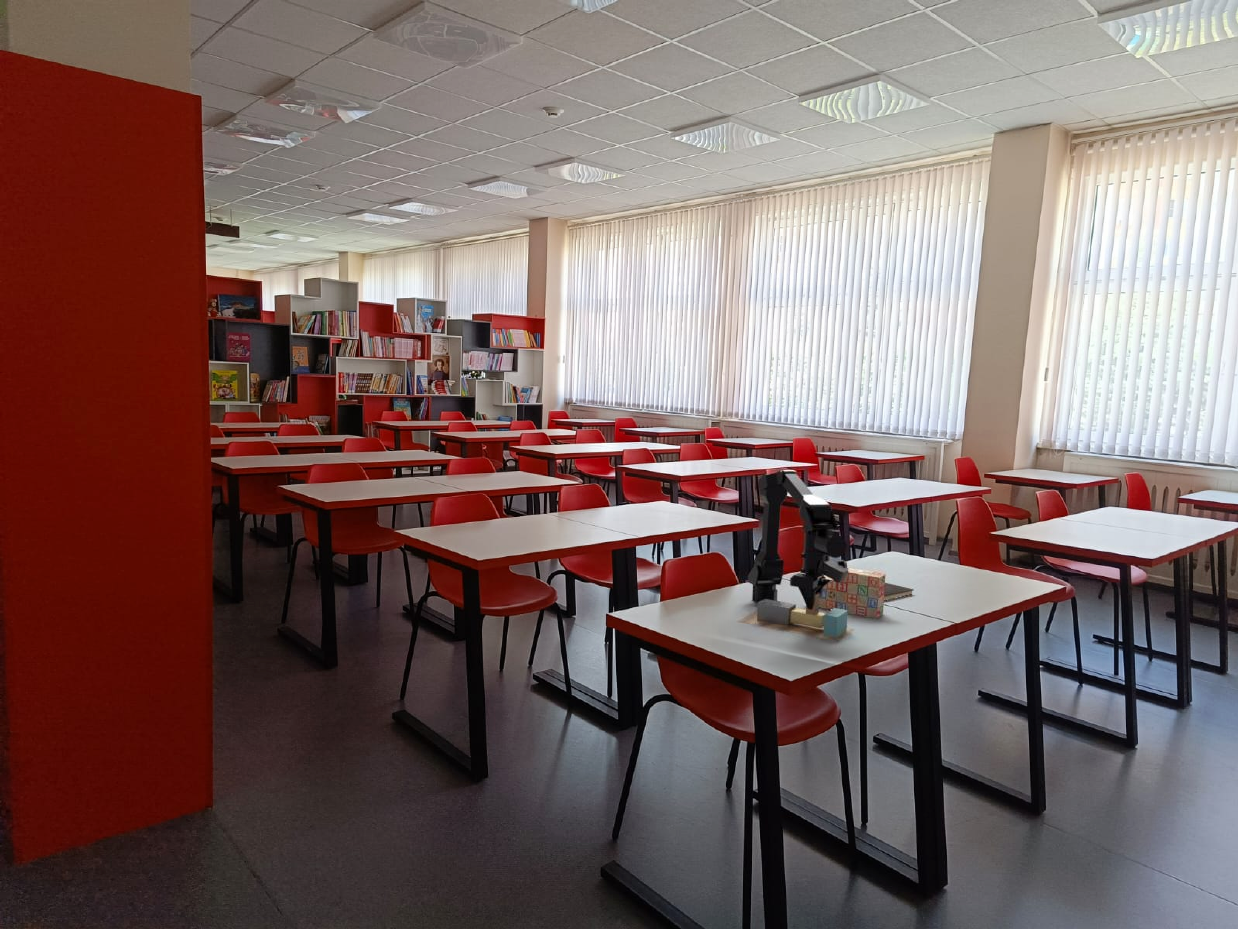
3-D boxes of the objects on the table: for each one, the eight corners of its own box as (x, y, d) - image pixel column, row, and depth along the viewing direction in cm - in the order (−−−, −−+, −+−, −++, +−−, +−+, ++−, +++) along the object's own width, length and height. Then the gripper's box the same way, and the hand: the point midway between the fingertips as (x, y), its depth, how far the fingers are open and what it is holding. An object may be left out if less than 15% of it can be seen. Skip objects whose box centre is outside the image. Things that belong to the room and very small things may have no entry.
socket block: (823, 635, 195) (824, 614, 195) (833, 628, 202) (834, 608, 201) (836, 637, 193) (837, 617, 193) (846, 630, 200) (847, 610, 199)
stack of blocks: (805, 606, 227) (807, 565, 226) (813, 602, 232) (815, 562, 231) (877, 619, 215) (879, 576, 214) (883, 614, 220) (886, 573, 219)
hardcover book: (853, 581, 262) (854, 575, 262) (913, 596, 244) (913, 589, 243) (823, 587, 253) (824, 580, 253) (883, 603, 234) (883, 595, 234)
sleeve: (757, 620, 207) (757, 602, 207) (764, 616, 211) (765, 598, 211) (788, 626, 202) (788, 608, 202) (795, 622, 206) (795, 604, 206)
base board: (737, 624, 206) (737, 621, 206) (757, 614, 217) (757, 610, 217) (838, 645, 191) (838, 641, 190) (854, 632, 201) (854, 629, 201)
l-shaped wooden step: (761, 617, 207) (762, 586, 207) (766, 614, 210) (767, 584, 209) (821, 628, 198) (822, 596, 197) (825, 625, 201) (826, 594, 200)
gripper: (833, 560, 187) (830, 621, 188) (856, 548, 202) (853, 605, 204) (790, 553, 193) (787, 613, 195) (816, 543, 209) (813, 598, 210)
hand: (812, 607), depth 201 cm, fingers closed on l-shaped wooden step, 3 cm apart
